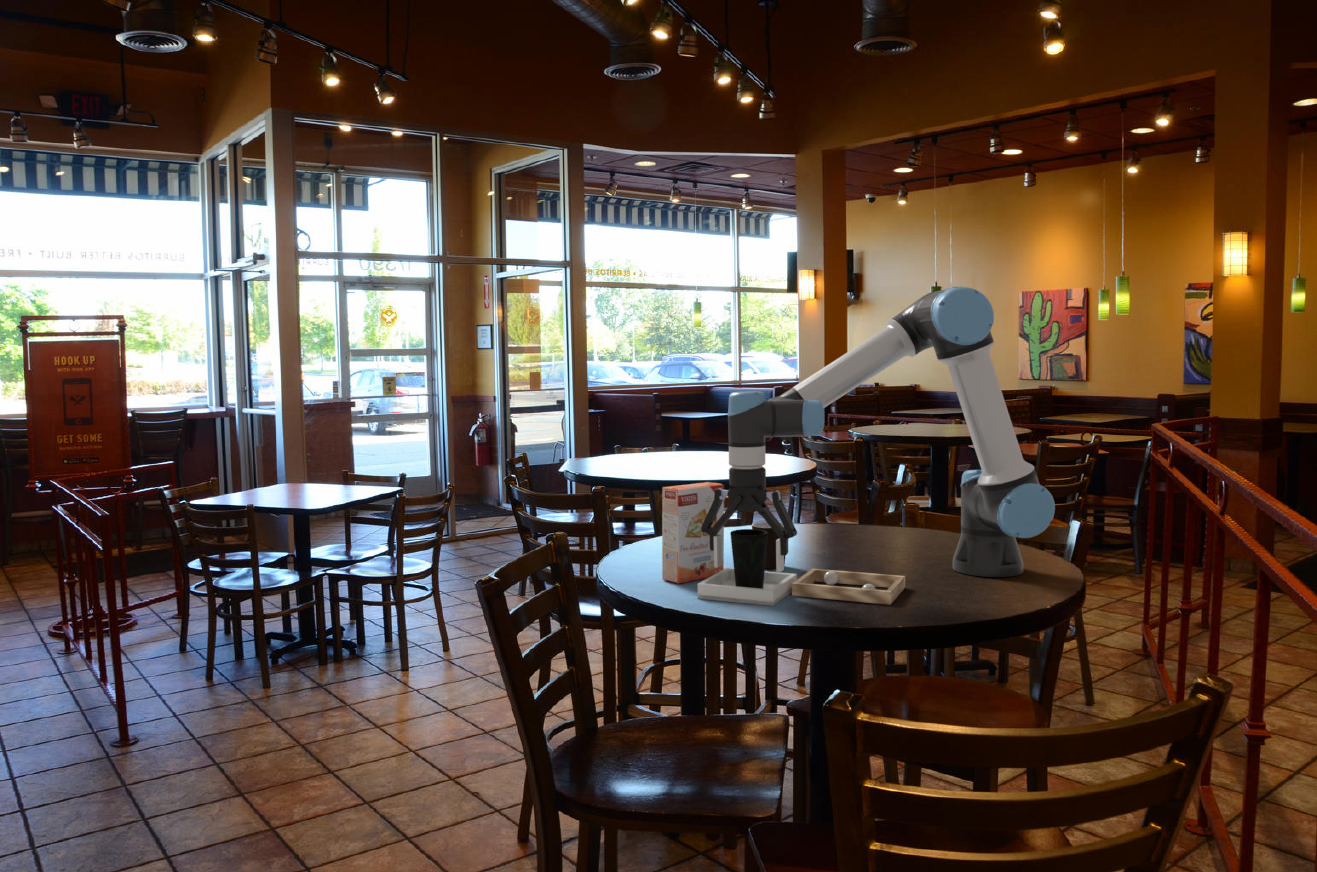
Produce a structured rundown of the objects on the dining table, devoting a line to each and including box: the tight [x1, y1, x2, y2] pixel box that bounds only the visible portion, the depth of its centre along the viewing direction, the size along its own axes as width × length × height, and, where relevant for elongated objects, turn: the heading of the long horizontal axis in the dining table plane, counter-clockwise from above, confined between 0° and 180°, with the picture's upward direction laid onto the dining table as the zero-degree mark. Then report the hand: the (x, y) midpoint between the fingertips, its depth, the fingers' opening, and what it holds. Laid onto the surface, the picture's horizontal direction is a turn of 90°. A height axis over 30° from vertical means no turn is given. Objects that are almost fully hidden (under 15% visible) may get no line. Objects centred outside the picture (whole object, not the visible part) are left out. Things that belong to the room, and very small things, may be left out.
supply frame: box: [791, 568, 906, 606], centre depth 197 cm, size 20×15×2 cm
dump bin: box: [697, 567, 798, 607], centre depth 197 cm, size 16×16×3 cm
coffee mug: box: [751, 521, 786, 571], centre depth 223 cm, size 12×9×10 cm
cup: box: [729, 528, 768, 589], centre depth 197 cm, size 8×8×12 cm
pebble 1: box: [824, 571, 838, 586], centre depth 203 cm, size 3×3×3 cm
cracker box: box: [661, 481, 725, 584], centre depth 212 cm, size 14×6×21 cm, turn 130°
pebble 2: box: [861, 584, 877, 590], centre depth 191 cm, size 3×3×3 cm
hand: (748, 568), depth 197 cm, fingers open, 13 cm apart
